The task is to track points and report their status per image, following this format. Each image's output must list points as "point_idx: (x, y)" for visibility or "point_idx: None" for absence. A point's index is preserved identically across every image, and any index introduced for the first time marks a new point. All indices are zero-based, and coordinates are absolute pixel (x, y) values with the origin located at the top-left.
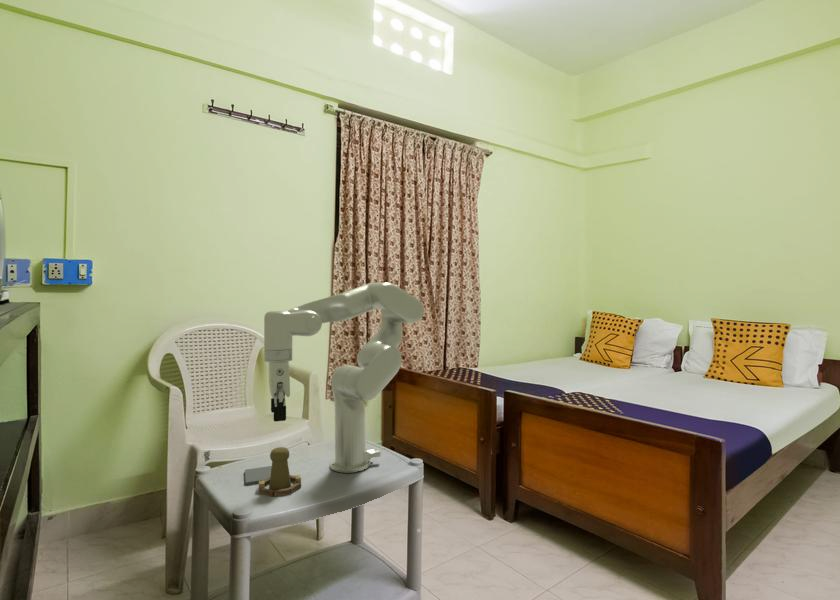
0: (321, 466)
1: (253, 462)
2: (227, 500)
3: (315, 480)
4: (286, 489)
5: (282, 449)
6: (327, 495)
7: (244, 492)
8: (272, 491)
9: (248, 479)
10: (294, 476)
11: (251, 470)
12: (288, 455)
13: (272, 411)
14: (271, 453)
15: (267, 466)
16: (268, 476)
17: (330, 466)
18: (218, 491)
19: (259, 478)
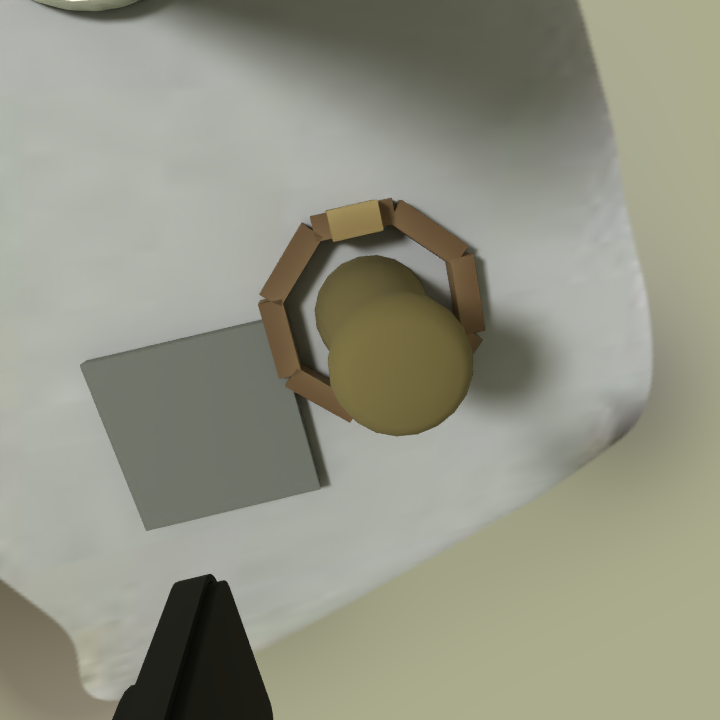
0: (77, 81)
1: (3, 513)
2: (466, 516)
3: (310, 115)
4: (465, 271)
5: (430, 354)
6: (531, 30)
7: (399, 468)
8: (473, 340)
9: (283, 484)
10: (294, 247)
11: (161, 496)
12: (422, 296)
13: (268, 717)
14: (435, 426)
15: (105, 426)
16: (255, 394)
17: (115, 5)
18: (366, 574)
19: (277, 435)
